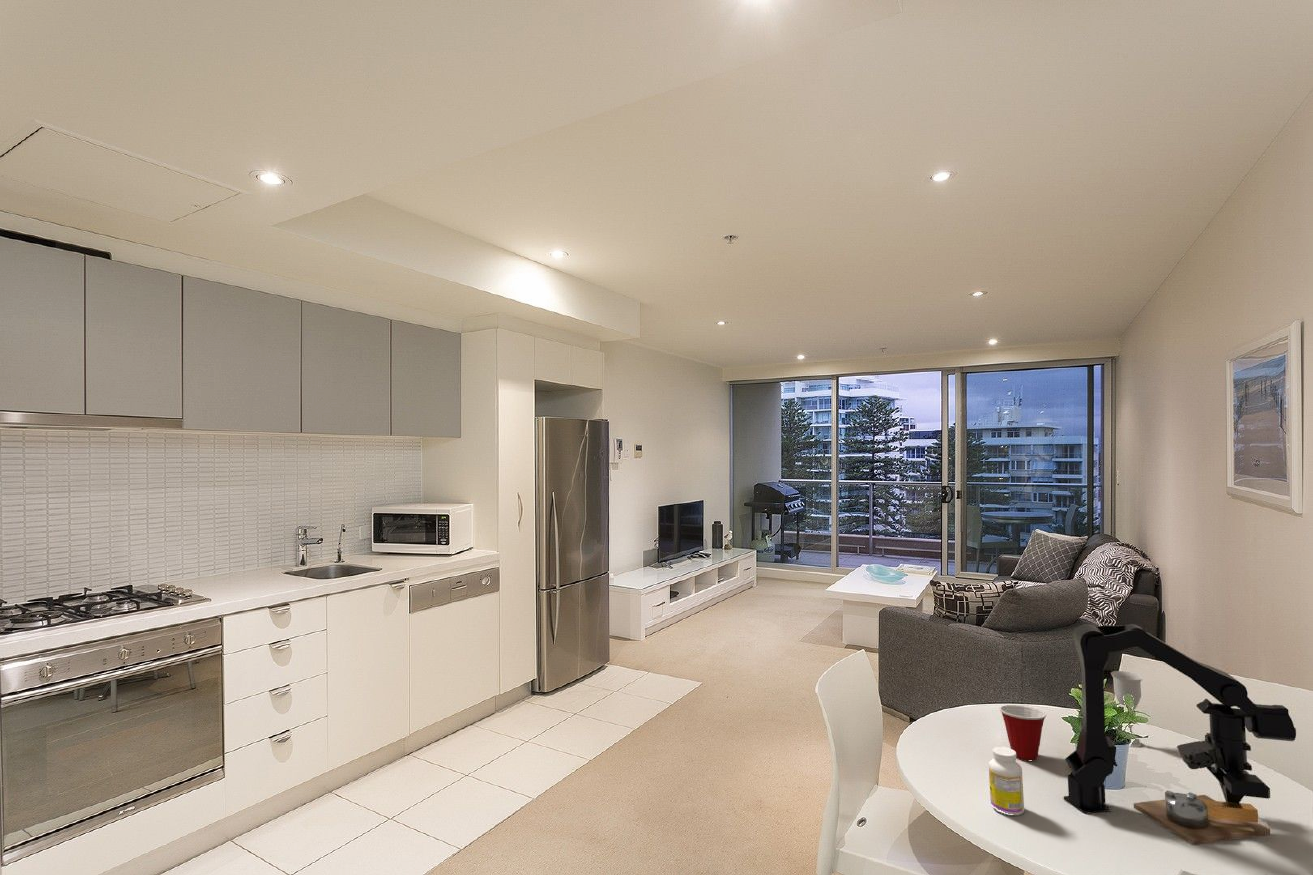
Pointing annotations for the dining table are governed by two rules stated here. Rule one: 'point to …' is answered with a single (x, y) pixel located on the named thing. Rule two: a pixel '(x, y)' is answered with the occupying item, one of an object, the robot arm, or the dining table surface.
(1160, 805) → the base plate
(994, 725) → the dining table surface
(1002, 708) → the plastic cup
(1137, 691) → the chalice
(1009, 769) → the supplement bottle
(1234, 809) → the wood-handled metal tool
